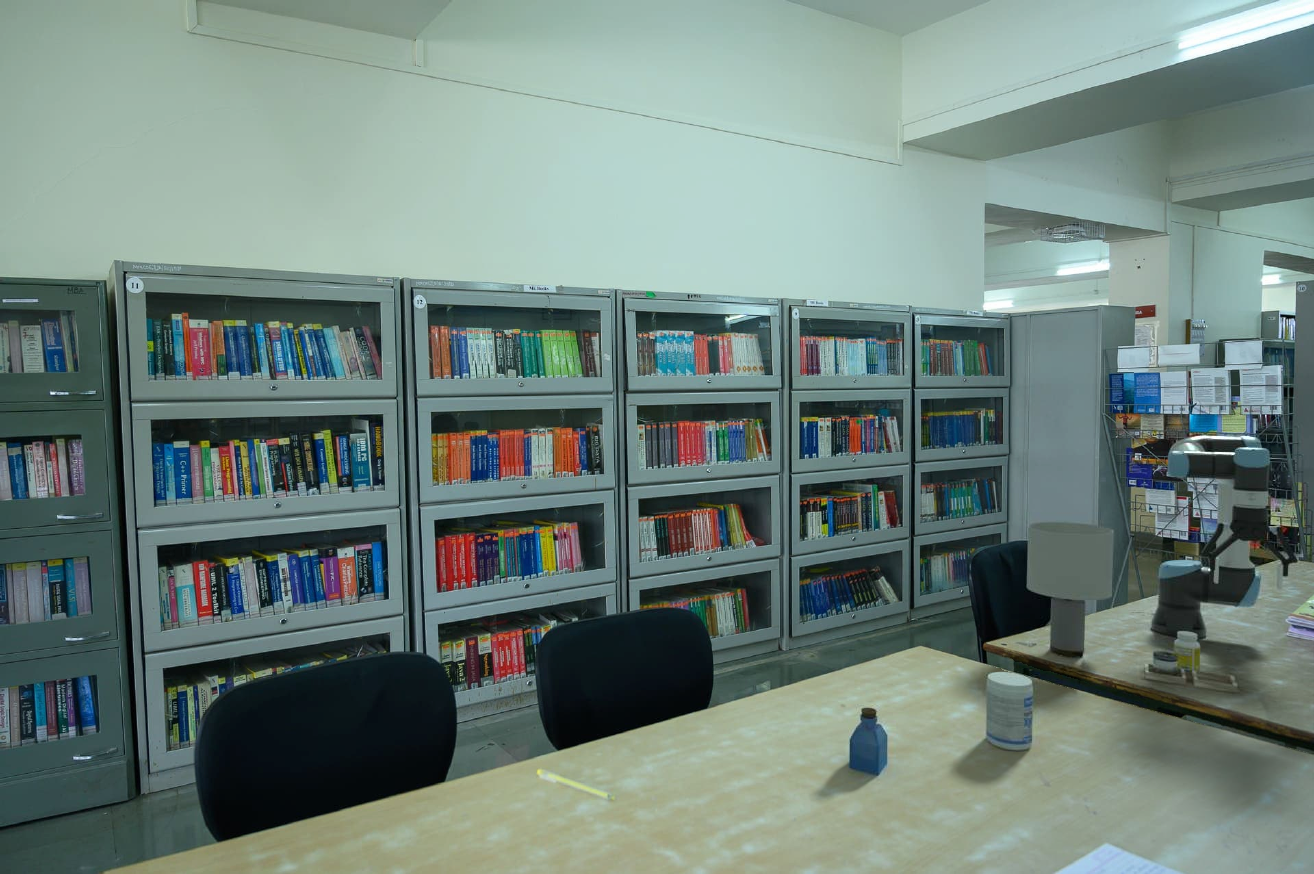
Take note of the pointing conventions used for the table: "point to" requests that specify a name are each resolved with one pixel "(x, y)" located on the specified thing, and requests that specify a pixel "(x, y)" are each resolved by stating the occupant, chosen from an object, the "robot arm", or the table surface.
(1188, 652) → the pill bottle
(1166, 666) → the small lidded jar
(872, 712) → the perfume bottle
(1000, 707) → the supplement tub
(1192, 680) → the socket board
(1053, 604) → the lamp
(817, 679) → the table surface
